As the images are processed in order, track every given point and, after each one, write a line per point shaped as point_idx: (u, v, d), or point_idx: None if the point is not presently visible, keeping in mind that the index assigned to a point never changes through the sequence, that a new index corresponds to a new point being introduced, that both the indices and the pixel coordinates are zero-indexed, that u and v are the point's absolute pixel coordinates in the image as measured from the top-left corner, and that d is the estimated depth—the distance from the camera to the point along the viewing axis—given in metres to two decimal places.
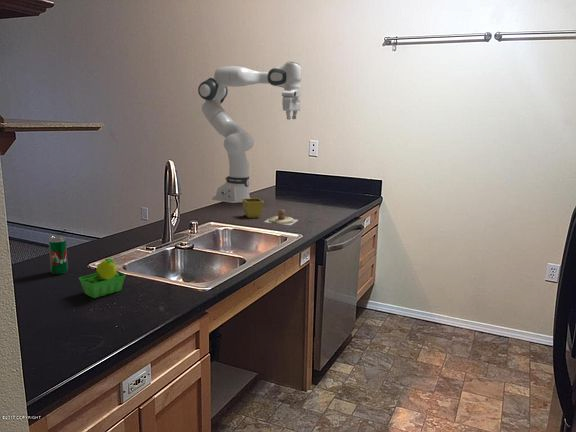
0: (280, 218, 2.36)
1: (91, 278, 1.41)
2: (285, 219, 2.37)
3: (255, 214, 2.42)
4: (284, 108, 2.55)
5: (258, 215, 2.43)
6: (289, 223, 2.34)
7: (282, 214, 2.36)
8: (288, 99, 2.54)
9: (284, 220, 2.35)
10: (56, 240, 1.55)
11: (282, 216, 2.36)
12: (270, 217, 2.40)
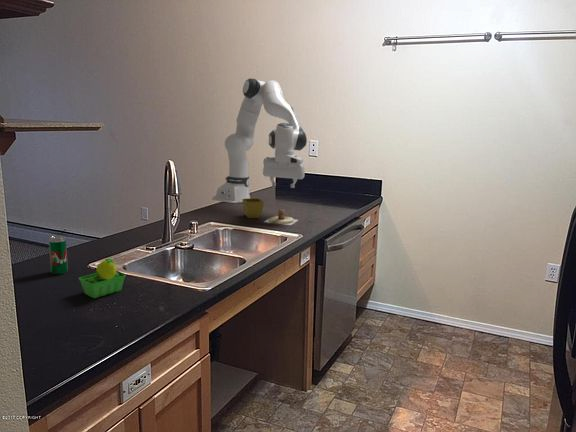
0: (280, 218, 2.36)
1: (91, 278, 1.41)
2: (285, 219, 2.37)
3: (255, 214, 2.42)
4: (303, 176, 2.30)
5: (258, 215, 2.43)
6: (289, 223, 2.34)
7: (282, 214, 2.36)
8: (303, 166, 2.31)
9: (284, 220, 2.35)
10: (56, 240, 1.55)
11: (282, 216, 2.36)
12: (270, 217, 2.40)
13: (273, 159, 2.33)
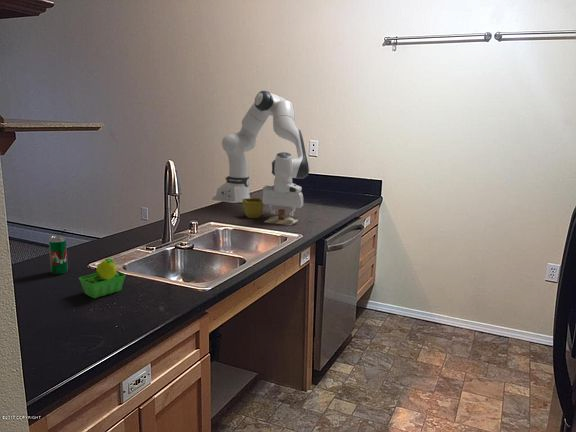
0: (280, 218, 2.36)
1: (91, 278, 1.41)
2: (285, 219, 2.37)
3: (255, 214, 2.42)
4: (301, 205, 2.33)
5: (258, 215, 2.43)
6: (289, 223, 2.34)
7: (282, 214, 2.36)
8: (302, 195, 2.34)
9: (284, 220, 2.35)
10: (56, 240, 1.55)
11: (282, 216, 2.36)
12: (270, 217, 2.40)
13: (272, 187, 2.36)
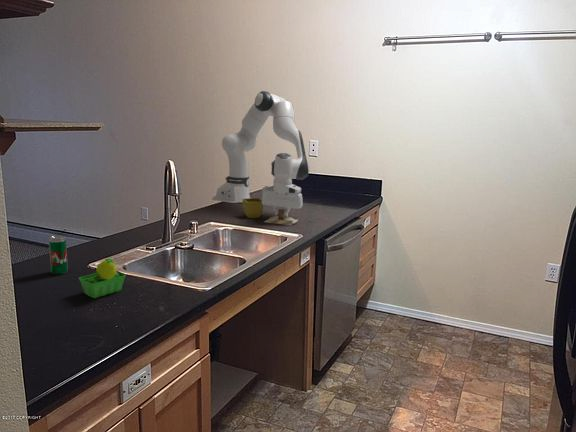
0: (280, 218, 2.36)
1: (91, 278, 1.41)
2: (285, 219, 2.37)
3: (255, 214, 2.42)
4: (301, 206, 2.33)
5: (258, 215, 2.43)
6: (289, 223, 2.34)
7: (282, 214, 2.36)
8: (301, 195, 2.34)
9: (284, 220, 2.35)
10: (56, 240, 1.55)
11: (282, 216, 2.36)
12: (270, 217, 2.40)
13: (272, 188, 2.36)
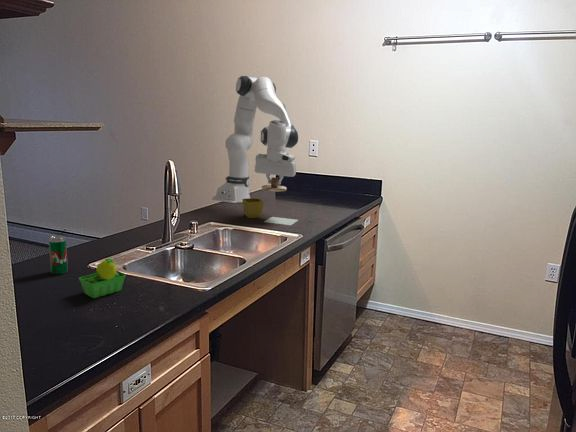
0: (273, 186, 2.35)
1: (91, 278, 1.41)
2: (278, 187, 2.35)
3: (255, 214, 2.42)
4: (294, 174, 2.31)
5: (258, 215, 2.43)
6: (289, 223, 2.34)
7: (275, 182, 2.34)
8: None
9: (277, 188, 2.33)
10: (56, 240, 1.55)
11: (275, 184, 2.34)
12: None
13: (265, 156, 2.34)
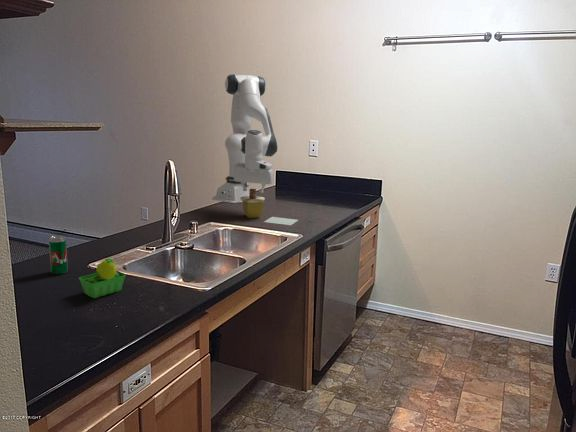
0: (251, 197, 2.41)
1: (91, 278, 1.41)
2: (256, 198, 2.42)
3: (255, 214, 2.42)
4: (271, 182, 2.37)
5: (258, 215, 2.43)
6: (289, 223, 2.34)
7: (253, 193, 2.41)
8: (272, 172, 2.38)
9: (255, 199, 2.40)
10: (56, 240, 1.55)
11: (253, 195, 2.41)
12: None
13: (243, 165, 2.40)
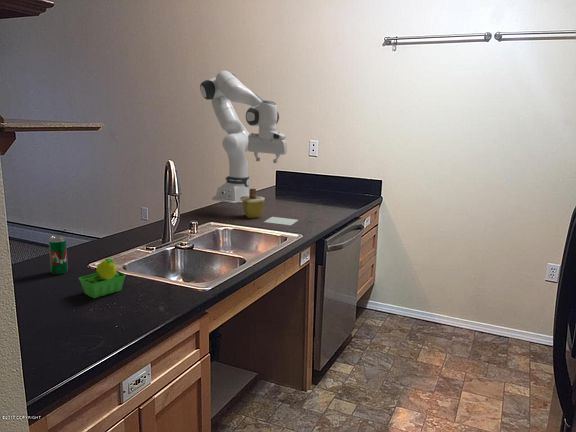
0: (251, 197, 2.41)
1: (91, 278, 1.41)
2: (256, 198, 2.42)
3: (255, 214, 2.42)
4: (285, 152, 2.40)
5: (258, 215, 2.43)
6: (289, 223, 2.34)
7: (253, 193, 2.41)
8: (285, 142, 2.41)
9: (255, 199, 2.40)
10: (56, 240, 1.55)
11: (253, 195, 2.41)
12: None
13: (257, 135, 2.44)
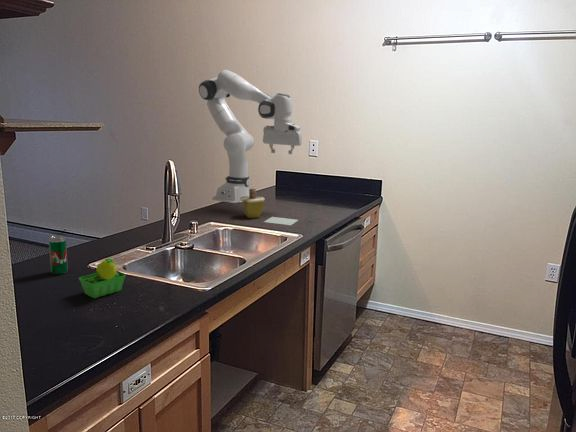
0: (251, 197, 2.41)
1: (91, 278, 1.41)
2: (256, 198, 2.42)
3: (255, 214, 2.42)
4: (300, 143, 2.47)
5: (258, 215, 2.43)
6: (289, 223, 2.34)
7: (253, 193, 2.41)
8: (300, 133, 2.48)
9: (255, 199, 2.40)
10: (56, 240, 1.55)
11: (253, 195, 2.41)
12: None
13: (272, 127, 2.50)
